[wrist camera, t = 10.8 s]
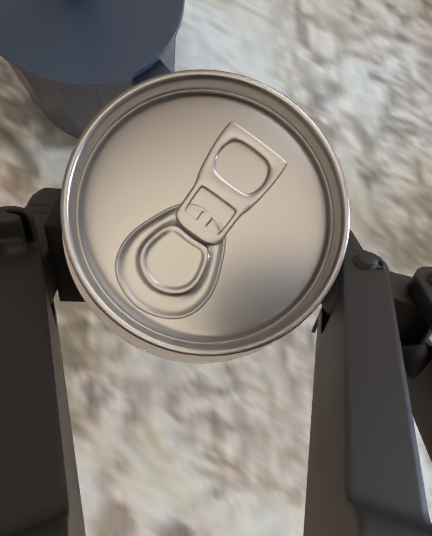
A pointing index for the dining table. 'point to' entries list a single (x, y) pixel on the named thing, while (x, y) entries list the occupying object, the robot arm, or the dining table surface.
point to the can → (203, 216)
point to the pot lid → (87, 38)
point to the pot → (85, 95)
